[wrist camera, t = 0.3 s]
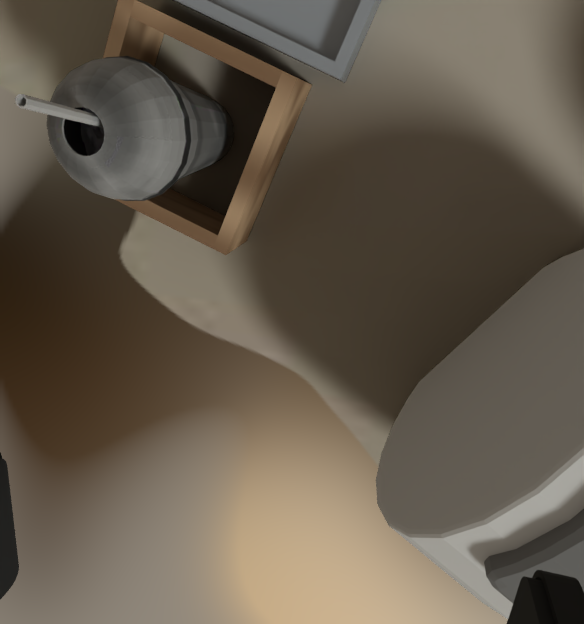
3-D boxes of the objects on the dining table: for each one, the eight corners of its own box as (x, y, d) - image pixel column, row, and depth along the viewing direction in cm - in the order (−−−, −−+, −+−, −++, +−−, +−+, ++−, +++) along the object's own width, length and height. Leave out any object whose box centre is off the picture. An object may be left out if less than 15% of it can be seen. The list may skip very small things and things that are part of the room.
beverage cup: (144, 155, 40) (-84, 177, 21) (177, 58, 37) (-54, -13, 19) (229, 199, 40) (72, 260, 21) (268, 105, 37) (127, 79, 18)
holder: (156, 9, 36) (119, -8, 32) (311, 84, 36) (297, 78, 31) (109, 172, 41) (71, 177, 36) (246, 240, 40) (225, 255, 36)
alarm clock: (448, 474, 43) (479, 727, 25) (380, 417, 43) (359, 631, 25) (678, 290, 35) (971, 464, 17) (596, 218, 35) (806, 315, 17)
